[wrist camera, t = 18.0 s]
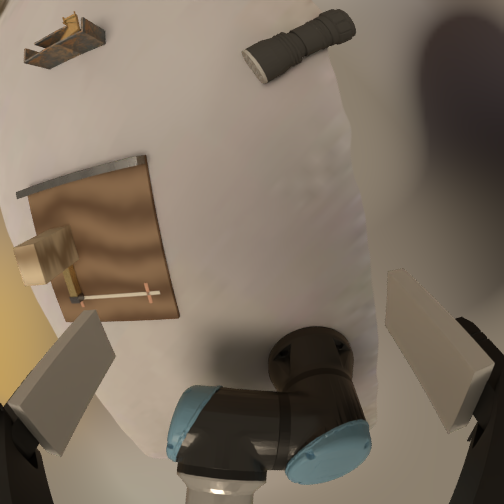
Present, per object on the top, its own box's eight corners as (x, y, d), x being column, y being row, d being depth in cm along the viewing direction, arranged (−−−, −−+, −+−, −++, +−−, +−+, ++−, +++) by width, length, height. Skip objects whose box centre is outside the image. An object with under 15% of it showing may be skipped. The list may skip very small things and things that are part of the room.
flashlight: (331, 14, 32) (340, -1, 27) (352, 42, 34) (364, 30, 29) (242, 58, 35) (240, 46, 30) (264, 87, 37) (265, 79, 32)
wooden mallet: (91, 298, 47) (62, 328, 37) (70, 299, 47) (41, 327, 38) (70, 224, 43) (33, 243, 33) (49, 229, 43) (12, 248, 33)
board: (179, 315, 48) (174, 328, 45) (68, 319, 50) (58, 330, 46) (146, 155, 40) (136, 156, 36) (29, 188, 41) (15, 192, 38)
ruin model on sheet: (106, 29, 33) (75, 10, 24) (106, 44, 34) (75, 27, 25) (51, 55, 34) (16, 44, 24) (51, 69, 35) (15, 61, 25)
